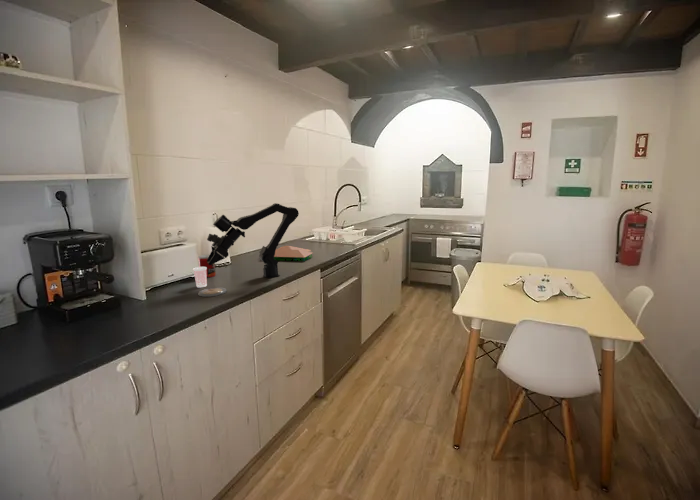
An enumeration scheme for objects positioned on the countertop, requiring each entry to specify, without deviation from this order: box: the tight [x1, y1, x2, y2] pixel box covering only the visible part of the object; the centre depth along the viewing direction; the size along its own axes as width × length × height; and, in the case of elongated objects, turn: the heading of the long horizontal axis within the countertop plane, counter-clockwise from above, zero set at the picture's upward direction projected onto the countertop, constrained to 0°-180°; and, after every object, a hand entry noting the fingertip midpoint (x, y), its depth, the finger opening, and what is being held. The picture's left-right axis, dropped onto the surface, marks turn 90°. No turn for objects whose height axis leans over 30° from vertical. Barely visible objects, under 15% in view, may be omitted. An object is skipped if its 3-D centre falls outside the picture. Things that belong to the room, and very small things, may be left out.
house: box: [274, 245, 314, 262], centre depth 233 cm, size 23×33×8 cm
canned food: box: [197, 254, 217, 278], centre depth 190 cm, size 8×8×11 cm
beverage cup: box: [192, 257, 208, 288], centre depth 171 cm, size 6×6×14 cm
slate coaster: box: [197, 287, 228, 298], centre depth 161 cm, size 12×12×1 cm
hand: (208, 262), depth 172 cm, fingers open, 9 cm apart
